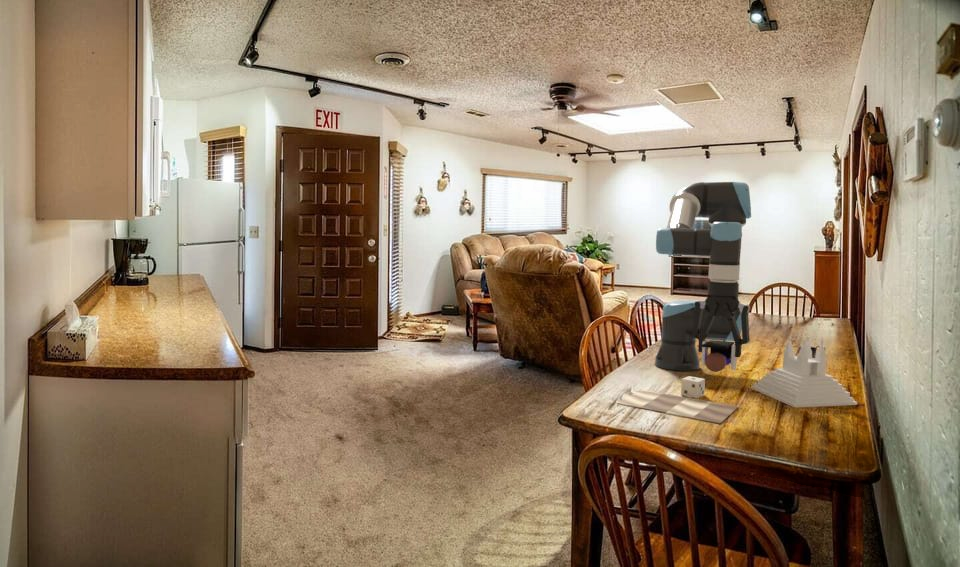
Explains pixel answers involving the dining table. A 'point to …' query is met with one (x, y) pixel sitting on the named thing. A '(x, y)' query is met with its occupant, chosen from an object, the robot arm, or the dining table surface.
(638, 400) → the board
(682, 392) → the die
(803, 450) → the dining table surface
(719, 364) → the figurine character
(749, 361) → the dining table surface
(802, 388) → the castle model
